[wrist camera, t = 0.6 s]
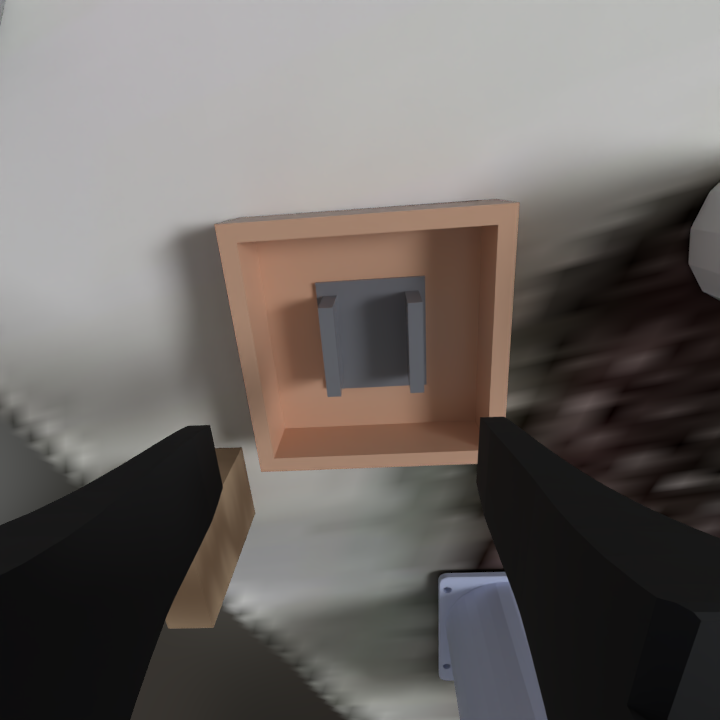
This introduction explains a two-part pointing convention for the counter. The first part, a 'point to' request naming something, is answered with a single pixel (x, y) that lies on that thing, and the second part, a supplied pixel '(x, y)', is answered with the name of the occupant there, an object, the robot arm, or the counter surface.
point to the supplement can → (1, 8)
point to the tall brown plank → (216, 548)
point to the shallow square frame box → (372, 331)
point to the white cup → (707, 245)
